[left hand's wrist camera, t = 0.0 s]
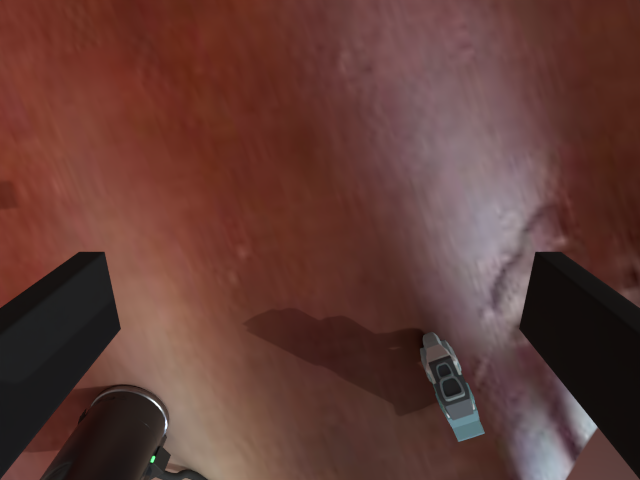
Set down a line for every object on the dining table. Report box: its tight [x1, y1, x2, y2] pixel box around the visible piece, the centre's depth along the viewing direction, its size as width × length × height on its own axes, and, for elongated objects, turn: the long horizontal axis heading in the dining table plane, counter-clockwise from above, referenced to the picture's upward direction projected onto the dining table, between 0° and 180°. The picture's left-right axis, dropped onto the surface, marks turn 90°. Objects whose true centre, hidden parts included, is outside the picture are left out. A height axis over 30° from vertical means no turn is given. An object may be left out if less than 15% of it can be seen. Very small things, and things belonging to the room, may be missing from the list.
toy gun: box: [420, 332, 484, 442], centre depth 42 cm, size 4×19×10 cm
